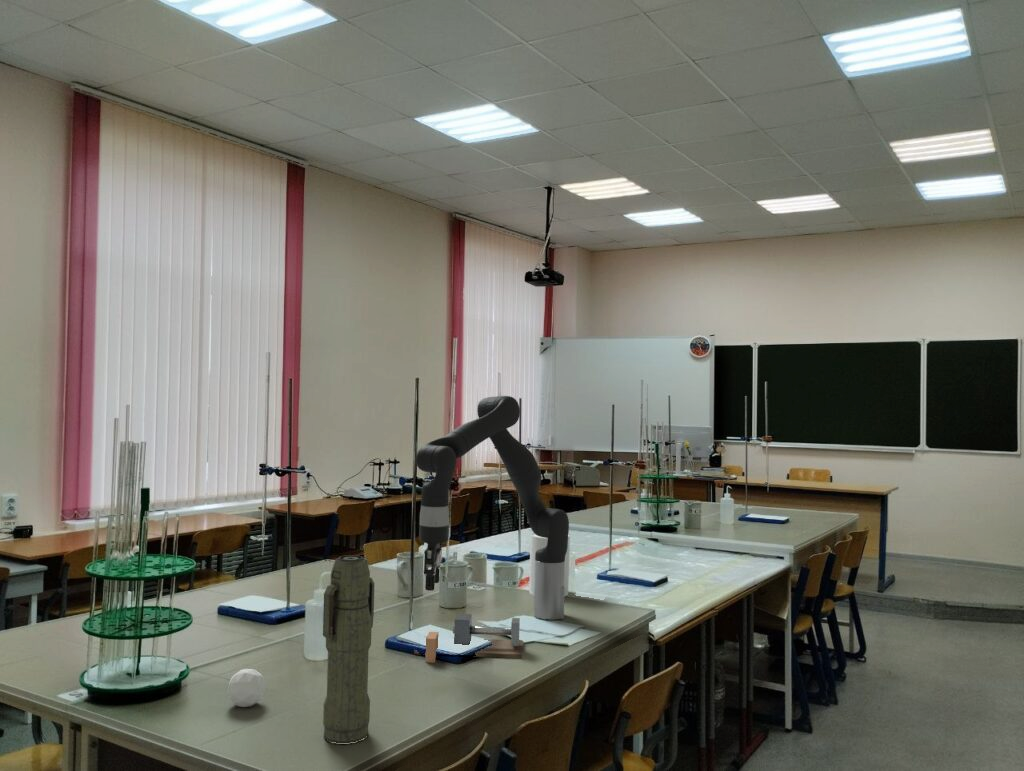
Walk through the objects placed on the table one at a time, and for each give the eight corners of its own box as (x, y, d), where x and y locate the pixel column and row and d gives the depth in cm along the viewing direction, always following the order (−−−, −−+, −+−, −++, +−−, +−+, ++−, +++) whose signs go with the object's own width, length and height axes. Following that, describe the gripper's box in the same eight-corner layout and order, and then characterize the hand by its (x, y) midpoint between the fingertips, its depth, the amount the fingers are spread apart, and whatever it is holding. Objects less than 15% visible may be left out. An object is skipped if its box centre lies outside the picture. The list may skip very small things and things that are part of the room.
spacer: (437, 655, 209) (438, 631, 209) (434, 662, 203) (435, 638, 203) (428, 654, 209) (429, 631, 209) (425, 662, 203) (425, 638, 203)
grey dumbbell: (519, 640, 216) (519, 618, 216) (518, 646, 211) (519, 623, 211) (454, 637, 217) (454, 615, 217) (451, 643, 212) (452, 620, 212)
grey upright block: (471, 641, 217) (471, 614, 218) (469, 648, 211) (469, 620, 212) (456, 641, 218) (457, 613, 218) (453, 648, 212) (454, 619, 212)
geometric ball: (255, 718, 172) (273, 692, 170) (219, 711, 168) (237, 685, 166) (254, 689, 179) (271, 665, 177) (220, 682, 175) (237, 657, 173)
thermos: (307, 741, 155) (312, 559, 156) (348, 720, 166) (353, 550, 166) (342, 752, 151) (347, 565, 152) (382, 730, 161) (387, 555, 162)
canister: (543, 586, 288) (544, 530, 288) (575, 592, 280) (576, 534, 280) (521, 593, 277) (523, 535, 277) (554, 599, 269) (556, 539, 269)
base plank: (523, 644, 220) (523, 640, 220) (521, 658, 208) (521, 654, 208) (421, 640, 221) (421, 636, 221) (414, 654, 209) (414, 650, 209)
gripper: (445, 528, 199) (443, 593, 199) (452, 519, 214) (450, 580, 213) (415, 526, 200) (413, 592, 199) (424, 518, 214) (422, 579, 214)
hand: (432, 586), depth 206 cm, fingers open, 8 cm apart
